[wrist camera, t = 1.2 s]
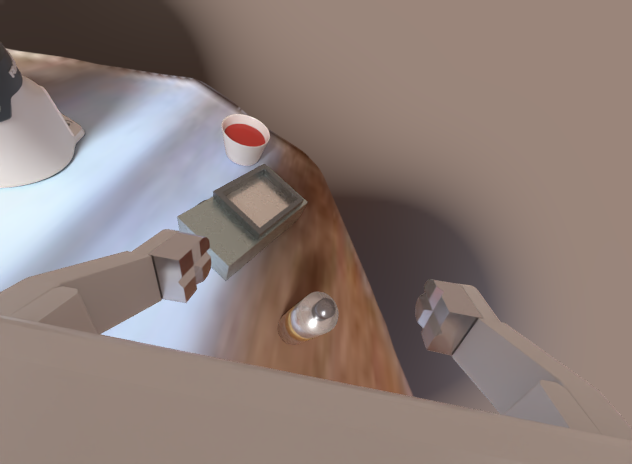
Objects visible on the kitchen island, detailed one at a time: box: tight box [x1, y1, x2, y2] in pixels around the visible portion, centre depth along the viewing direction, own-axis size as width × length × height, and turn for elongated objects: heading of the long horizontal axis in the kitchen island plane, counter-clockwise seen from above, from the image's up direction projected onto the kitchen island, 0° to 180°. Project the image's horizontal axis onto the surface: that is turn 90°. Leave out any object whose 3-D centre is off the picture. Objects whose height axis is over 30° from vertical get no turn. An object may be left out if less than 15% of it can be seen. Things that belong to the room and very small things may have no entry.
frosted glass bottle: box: [278, 292, 338, 345], centre depth 32 cm, size 5×5×13 cm
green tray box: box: [177, 164, 308, 281], centre depth 39 cm, size 11×18×8 cm, turn 142°
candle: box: [222, 114, 270, 166], centre depth 48 cm, size 9×9×6 cm
